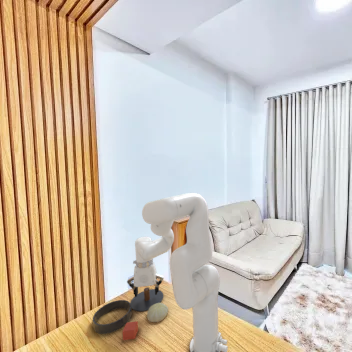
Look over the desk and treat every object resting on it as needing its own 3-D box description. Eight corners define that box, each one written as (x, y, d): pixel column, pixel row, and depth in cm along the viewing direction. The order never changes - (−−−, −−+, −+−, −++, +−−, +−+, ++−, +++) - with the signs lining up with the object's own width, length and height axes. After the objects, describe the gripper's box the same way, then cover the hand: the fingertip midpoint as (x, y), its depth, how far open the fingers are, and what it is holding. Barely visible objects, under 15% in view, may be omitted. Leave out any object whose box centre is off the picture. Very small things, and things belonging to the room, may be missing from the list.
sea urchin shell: (163, 301, 101) (166, 296, 96) (168, 318, 98) (172, 314, 93) (143, 310, 96) (146, 305, 91) (148, 328, 92) (151, 325, 87)
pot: (138, 313, 96) (138, 304, 96) (110, 339, 83) (109, 329, 82) (116, 305, 101) (115, 297, 101) (85, 329, 88) (84, 319, 87)
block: (138, 330, 87) (137, 321, 86) (134, 339, 82) (134, 329, 82) (127, 332, 86) (126, 322, 86) (123, 341, 82) (122, 331, 81)
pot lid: (169, 294, 109) (169, 283, 108) (147, 316, 94) (146, 303, 94) (147, 288, 114) (146, 277, 113) (123, 307, 100) (122, 295, 99)
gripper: (123, 268, 97) (125, 301, 99) (161, 264, 100) (163, 297, 102) (128, 259, 104) (130, 291, 106) (164, 257, 107) (165, 287, 109)
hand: (146, 294), depth 104 cm, fingers open, 9 cm apart
